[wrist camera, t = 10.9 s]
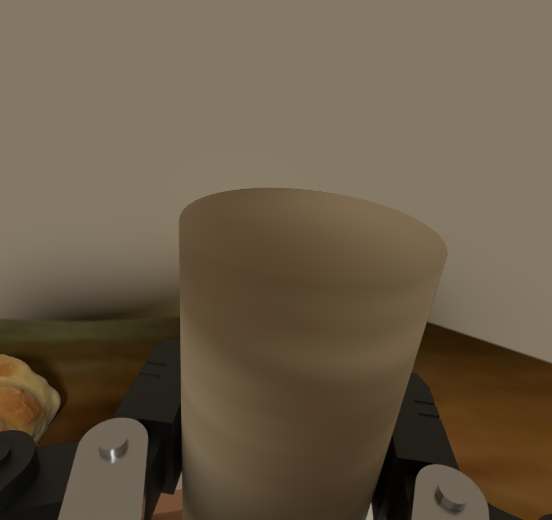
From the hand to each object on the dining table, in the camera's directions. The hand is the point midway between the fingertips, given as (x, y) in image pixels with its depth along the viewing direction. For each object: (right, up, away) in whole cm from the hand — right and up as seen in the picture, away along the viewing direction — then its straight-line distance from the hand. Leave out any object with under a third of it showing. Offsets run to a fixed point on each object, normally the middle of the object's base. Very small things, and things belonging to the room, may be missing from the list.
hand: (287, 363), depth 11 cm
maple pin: (-1, -7, 0) cm, 7 cm away
